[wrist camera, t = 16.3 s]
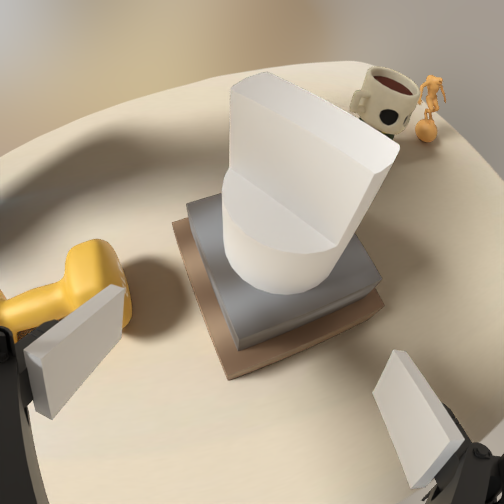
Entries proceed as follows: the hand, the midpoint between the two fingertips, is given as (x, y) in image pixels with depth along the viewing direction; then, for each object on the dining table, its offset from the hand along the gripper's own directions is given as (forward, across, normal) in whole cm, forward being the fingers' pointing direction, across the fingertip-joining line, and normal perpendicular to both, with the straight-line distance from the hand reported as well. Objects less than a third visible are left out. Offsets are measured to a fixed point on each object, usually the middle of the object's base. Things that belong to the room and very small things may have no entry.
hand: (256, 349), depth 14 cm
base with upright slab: (+12, +1, +3) cm, 12 cm away
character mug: (+32, +11, +15) cm, 37 cm away
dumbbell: (+12, -19, -11) cm, 25 cm away
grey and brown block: (+18, +1, -2) cm, 18 cm away
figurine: (+38, +22, +22) cm, 49 cm away
